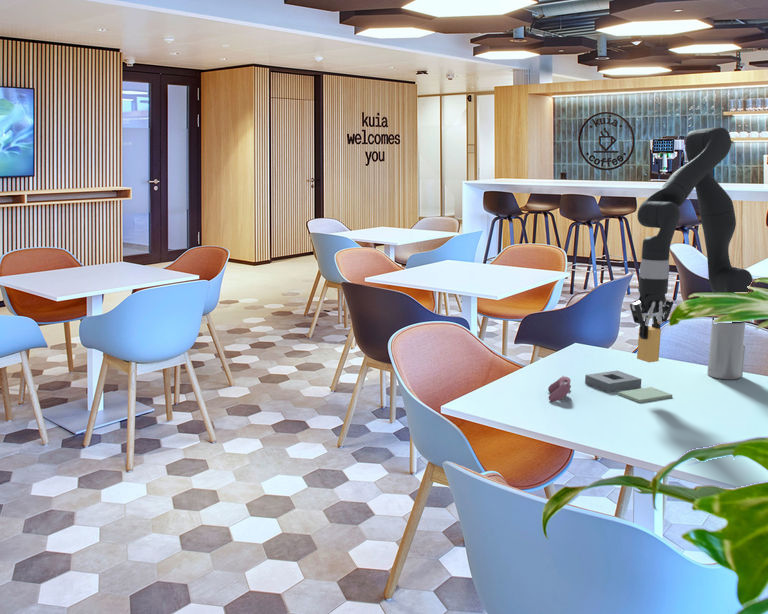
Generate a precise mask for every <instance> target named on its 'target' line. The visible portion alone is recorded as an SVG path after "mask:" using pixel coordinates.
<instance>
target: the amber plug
mask: <svg viewBox="0 0 768 614" xmlns="http://www.w3.org/2000/svg"><path fill="white" fill-rule="evenodd" d="M648 326H649V329H648V338H647V339H641V338H640V335H639V333H640V326H639V328H638V340H637V352H636V354H637V355H636V356H637V357H636V359H637V360H640V361H642V362H646V363H655V362H656V363H657V362H659V361H660V360H659V359H660V350H661V349H660V346H661V337H662V335H661V332H662V329H661V328H660V329H659V328H655V327H652V325H648Z"/></svg>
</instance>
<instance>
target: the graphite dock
mask: <svg viewBox="0 0 768 614" xmlns="http://www.w3.org/2000/svg"><path fill="white" fill-rule="evenodd" d="M584 384H586V385H588V386H591V387H594V388H597V389H599V390H602V391H604V392H606V393H612V392H621V391H627V390H634V389H641V388H642V378H640V377H637V376H634V375H631V374H629V373H626V372H623V371H620V370H611V371H604V372H597V373H590V374H585V379H584Z"/></svg>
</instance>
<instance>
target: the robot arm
mask: <svg viewBox="0 0 768 614" xmlns="http://www.w3.org/2000/svg"><path fill="white" fill-rule="evenodd" d="M731 138H732V137H731V135H730V132H729V131H728V129H726V128H724V127H720V126H715V127H708V128H707V127H706V128H699V129H694V130H690V131H689V132H688V133H687V134H686V137H685V142H684V149H685V154H686V155H685V156H686V159H687V163H685V164H684V165H683V166H681V167H679V168H678V169H676V170H675V171H674V172H673V173H672V174H671V175H670V176H669V178H668V179H667V180H666V181H665V183H664V184H663V185H662V187H661V188H660V189H658V190H656V191H655V192H654V193H652V194H651V195H650V196H648V197H646V199H645V200H644V201H643V202H642V203H641V204H640V206H639V208H638V210H637V220H638V222H639V223H638V224H640V225H641V226H643V227H646V228H654V229H659V231H658V233H657V235H653V236H646V237H645V238H643V241H642V248H641V261H640V265H639V273H638V274H639V275H638V276H639V277H638V286H637V287H638V288H637V289H638V293H639V298H638V299H637V301H636V302H631V303H630V305H629V307H630V311H631V315H632V318H633V322H634V323H635V324H638V325H639V327H640V333H639V332H638V336H639V335H640V338H641V339H647V338H648V329H649V326H650V325H649V323H650V319H651V321H652V323H651V327H655V328H659V329H661V325H662V324H663V323H664V322H665V323H666V322H668V319H669V316H670V314H671V310H672V308H673V305H674V301H673V300H668V299H667V297H666V294H667V293H668V291H669V290H668V288H669V276H670V252H671V250H670V249H671V244H672V240H673V238H674V234H675V231H676V229H677V226H678V224H679V221H680V216H681V213H680V209H679V207H681V206H682V205H683V204H684V203H685V202H686V200H687V199H688V197H689V196H690V194H691V193H692V191H694V189H695V192H696V199H697V203H698V210H699V211H698V212H699V217H700V222H701V227H702V230H703V231H702V232H703V236H704V243H705V249H706V258H707V273H708V282H709V287H710V289H711V291H712V293H714V292H748V291H749V289H748V288H747V286H749V285H750V284H751V282H752V281H753V283H752V284H751V285H752V287H753V288H754V280H753V279H754V278H753V276H752V274H751V272H750V271H749V270H748V269H745V268H739V267H734V266H732V263H731V259H730V254H729V253H730V252H729V250H730V249H729V247H730V243H731V240H732V238H733V236H734V233H735V230H736V226H737V220H736V214H735V213H736V211H735V208H734V207H735V206H734V202H733V200H732V198H731V196H730V195H729V194H728V193H727V192H726V190H725V189H724V188H723V187H722V186H721V185H720V184H719V183H718V181H717V180H716V179H715V177H714V176H713V174H712V172H711V171H712V170H713V169H715V167H716V166H717V165H719V164H720V162H722V161H723V160H724V159H725V158H726V157H727V156H728V155H729V152H730V150H731V146H732V139H731ZM711 319H712V320H711V326H710V327H711V329H710V340H709V353H708V360H707V361H708V362H707V375H708V376H709V377H712V378H715V379H720V380H737V379H738V380H739V379H740V378H741V377H743V375H744V374H743V372H744V365H745V364H744V363H745V354H746V346H745V344H744V342H745V332H746V331H745V330H746V321H745V322H732V323H717V324H714V323H713V320H714V318H712V317H711Z"/></svg>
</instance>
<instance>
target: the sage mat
mask: <svg viewBox="0 0 768 614" xmlns="http://www.w3.org/2000/svg"><path fill="white" fill-rule="evenodd" d="M618 396H621V397H624V398H626V399H628V400H630V401H633V402H636V403H641V404H642V403H646V402H652V401H658V400H665V399H670V398H671V399H672V398H673V394H672V393H670V392H666V391H664V390H660V389H659V388H655V387H652V386H649V387H640V388H634V389H627V390H621V391H618Z"/></svg>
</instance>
